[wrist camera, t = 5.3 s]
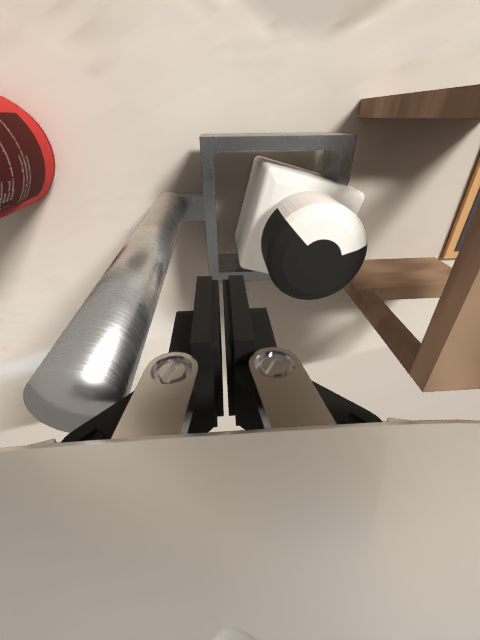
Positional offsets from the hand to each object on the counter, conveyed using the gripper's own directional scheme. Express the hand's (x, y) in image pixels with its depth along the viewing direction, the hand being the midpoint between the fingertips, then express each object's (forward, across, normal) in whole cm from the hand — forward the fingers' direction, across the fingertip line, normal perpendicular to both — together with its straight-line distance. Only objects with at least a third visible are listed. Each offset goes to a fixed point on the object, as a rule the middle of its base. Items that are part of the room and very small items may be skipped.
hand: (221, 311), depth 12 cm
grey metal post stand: (+17, -2, 0) cm, 17 cm away
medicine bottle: (+18, -6, +1) cm, 19 cm away
